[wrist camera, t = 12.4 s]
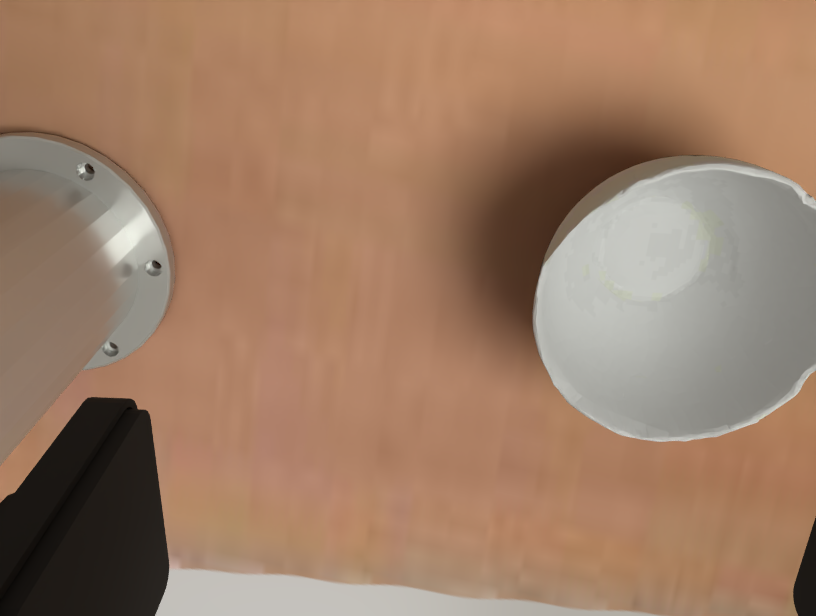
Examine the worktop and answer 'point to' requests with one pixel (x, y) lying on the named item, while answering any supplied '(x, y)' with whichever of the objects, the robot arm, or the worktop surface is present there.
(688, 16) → the worktop surface
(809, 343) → the teacup
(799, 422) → the worktop surface
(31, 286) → the robot arm
